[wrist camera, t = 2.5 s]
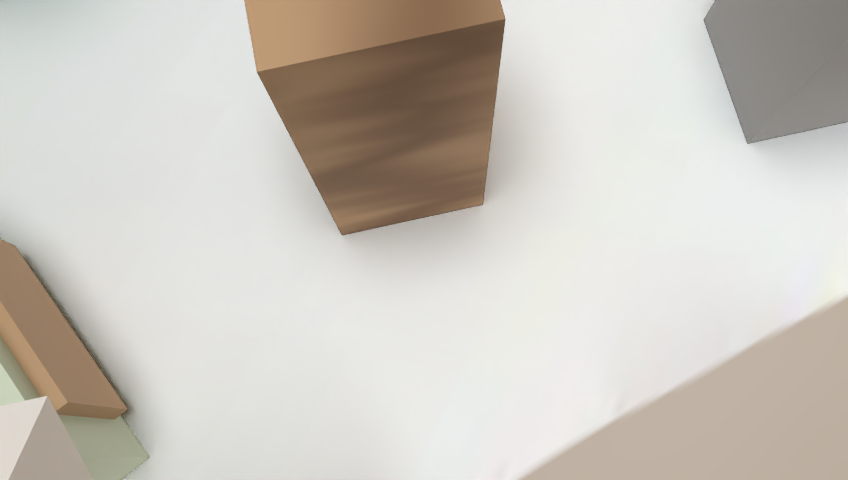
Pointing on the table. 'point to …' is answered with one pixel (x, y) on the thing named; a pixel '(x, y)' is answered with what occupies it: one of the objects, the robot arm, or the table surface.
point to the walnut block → (384, 99)
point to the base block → (60, 372)
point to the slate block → (783, 63)
